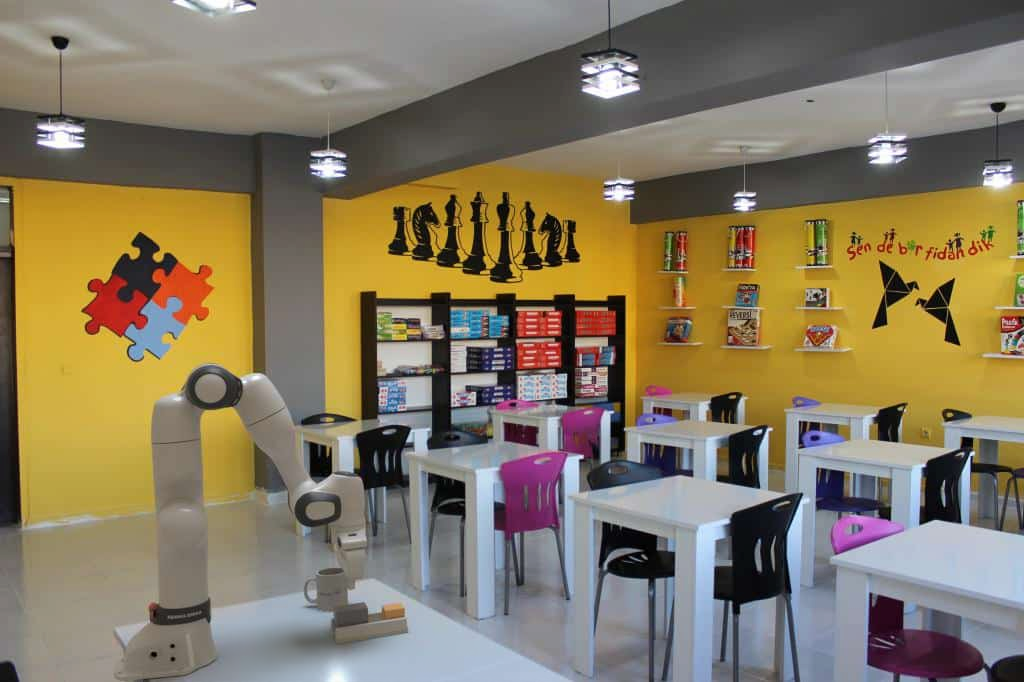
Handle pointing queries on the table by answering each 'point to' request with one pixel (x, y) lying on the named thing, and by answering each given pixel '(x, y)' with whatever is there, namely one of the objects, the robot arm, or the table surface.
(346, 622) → the block
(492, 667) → the table surface
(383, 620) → the rail
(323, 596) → the mug
